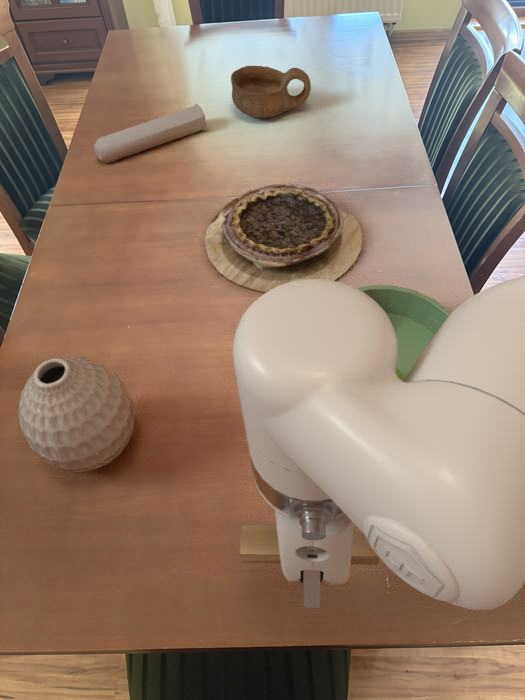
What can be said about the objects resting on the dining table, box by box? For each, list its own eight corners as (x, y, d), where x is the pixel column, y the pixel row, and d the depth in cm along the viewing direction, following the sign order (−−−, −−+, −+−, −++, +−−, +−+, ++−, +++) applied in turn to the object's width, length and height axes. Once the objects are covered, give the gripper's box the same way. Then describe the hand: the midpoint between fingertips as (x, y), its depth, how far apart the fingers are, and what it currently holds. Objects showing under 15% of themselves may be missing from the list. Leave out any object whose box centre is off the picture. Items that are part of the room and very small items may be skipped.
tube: (98, 153, 104) (206, 116, 111) (87, 135, 106) (195, 98, 112) (103, 171, 109) (206, 134, 116) (92, 153, 111) (195, 117, 117)
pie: (391, 254, 88) (396, 231, 84) (254, 319, 80) (252, 297, 76) (302, 176, 103) (302, 153, 99) (180, 224, 95) (175, 202, 91)
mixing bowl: (470, 429, 67) (484, 405, 62) (313, 427, 68) (314, 404, 63) (442, 311, 79) (452, 284, 75) (309, 312, 81) (310, 285, 76)
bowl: (298, 81, 125) (302, 43, 115) (313, 124, 120) (318, 88, 110) (226, 92, 123) (225, 54, 113) (239, 136, 118) (238, 100, 108)
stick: (377, 564, 45) (381, 556, 43) (242, 562, 46) (239, 554, 44) (374, 536, 46) (377, 526, 44) (243, 534, 47) (241, 525, 45)
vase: (150, 400, 72) (119, 323, 59) (139, 487, 64) (100, 421, 51) (60, 404, 72) (9, 328, 59) (38, 491, 64) (-27, 426, 51)
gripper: (388, 597, 26) (358, 652, 41) (361, 351, 36) (345, 465, 51) (243, 594, 27) (264, 650, 41) (256, 352, 37) (270, 465, 51)
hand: (309, 547), depth 46 cm, fingers closed on stick, 2 cm apart
